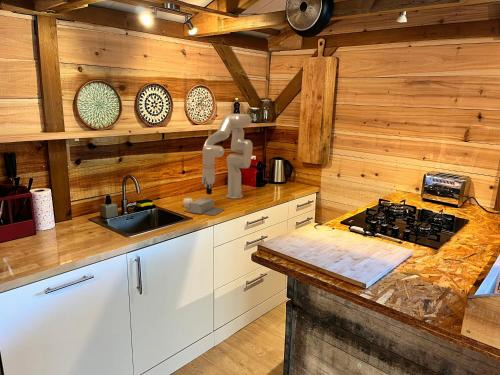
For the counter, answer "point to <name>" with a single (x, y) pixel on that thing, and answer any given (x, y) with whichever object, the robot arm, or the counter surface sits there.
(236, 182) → the robot arm
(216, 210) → the mat
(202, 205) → the skincare box
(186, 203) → the white round piece
